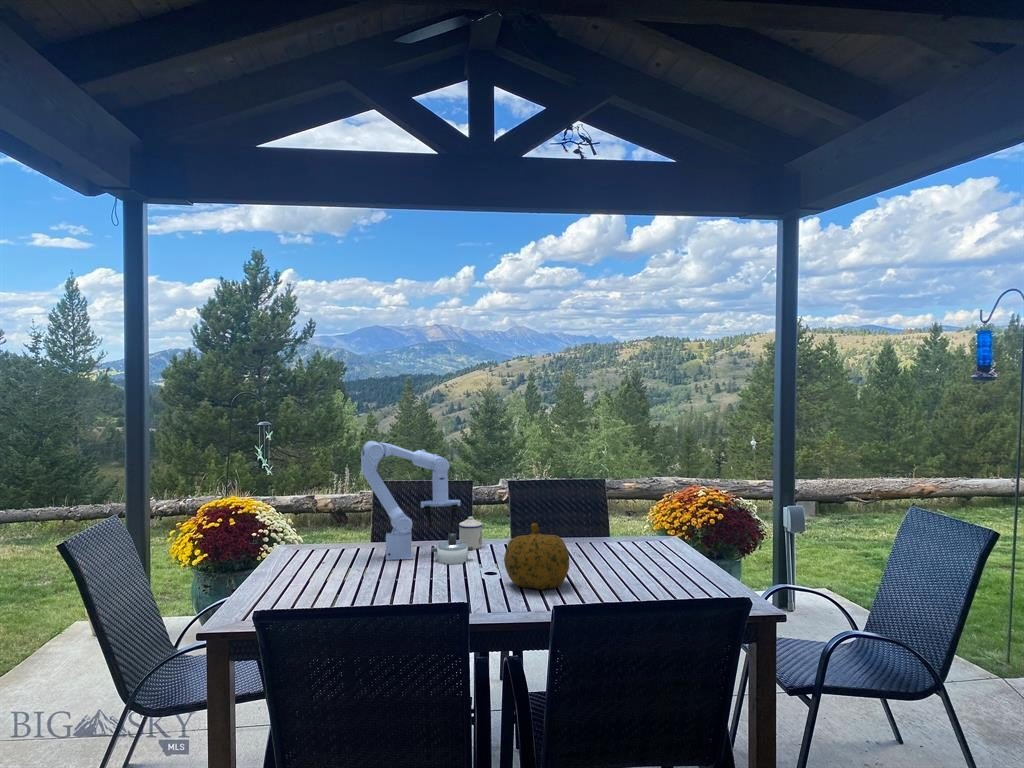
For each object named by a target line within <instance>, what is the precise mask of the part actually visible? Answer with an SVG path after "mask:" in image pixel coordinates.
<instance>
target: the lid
mask: <svg viewBox="0 0 1024 768" xmlns="http://www.w3.org/2000/svg"><path fill="white" fill-rule="evenodd" d="M447 536H448V539H447V540H446V541H441V542H439V543H438V544H437V546H438V548H440V549H444V550H459V549H464V548H466V543H465V542H462V541H459V540H457V533H455V532H454V533H452V532H451V533H448V534H447Z"/></svg>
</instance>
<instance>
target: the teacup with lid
mask: <svg viewBox="0 0 1024 768" xmlns="http://www.w3.org/2000/svg"><path fill="white" fill-rule="evenodd" d="M458 529H459V531H458V532H459V534H458V535H459V536H458V537H459V539H458V541H462V542H465V543H466V545H467V546H468V547H471V546H472V547H473V550H478V548H479V549H480V548H482V546H483V542H482V541H483V540H482V539H483V531H482V529H483V523H482V522H481V521H478V520H476V519H474V516H468V517H467V519H464V521H461V522H460V523H459V524H458Z"/></svg>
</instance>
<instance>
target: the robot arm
mask: <svg viewBox="0 0 1024 768" xmlns="http://www.w3.org/2000/svg"><path fill="white" fill-rule="evenodd" d="M389 456H395V457H398V458H402V459H407V460H409V461H411V462H412V464H413V465H414V466H417V467H420V468H422V469H423V468H424V469H427V470H432V478H431V480H432V483H431V484H432V500H425V501H424V500H423V501H420V508H421V509H422V508H423V511H424V512H425V514H426V517H427V519H428V522H429V523H428V524H429V527H430V528H432V509H431V508H432V507H433V508H434V507H450V510H449V511H450V518H449V519H450V520H449V521H450V522H449V523H450V527H453V524H454V519H455V516H456V514H457V511H458V507H461V499H449V477H448V475H449V474H448V471H449V470H450V467H451V465H450V462H449V460H448V459H446V458H445V457H442V456H440V455H438V453H430V452H427V451H426V449H421V450H420V449H417V450H415V451H412V450H409V449H405V448H403V447H400V446H397V445H394V444H392V443H386V442H380V441H378V442H377V441H374V440H369V441H366V442H365V443H364V444H363V447H362V449H361V451H360V459H361V461H360V462H361V463H360V471H361V474H362V475H363V476H364V478H365V480H366V482H367V483H368V485H369V486H370V488H371V490H372V491H373V493H374V494H375V496H376V497H377V499H378V500H379V502H380V503H381V505H382V507H383V509H384V510H385V511H386V514H387V515H388V517H389V520H390V525H391V527H392V530H391V532H389V533H388V532H387V533H385V549H384V553H385V560H386V561H392V560H393V561H394V560H395V561H396V560H398V561H400V559H401V560H413V559H414V558H413V556H414V555H413V554H414V553H413V552H412V529H413V520H412V519H411V518H410V517H409V516H407V515H406V514H405V513H404V511H403V510H402V509H401V507H400V506H399V504H398V502H397V501H396V499H394V497H393V495H392V493H391V492H390V490H389V489H388V487H387V485H386V484H385V483H384V480H383V479H382V478H381V476H380V475H379V473H378V472H377V468H378V466H379V462H380V461H381V460H382V459H383V457H385V458H387V457H389Z"/></svg>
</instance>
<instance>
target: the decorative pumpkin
mask: <svg viewBox="0 0 1024 768" xmlns="http://www.w3.org/2000/svg"><path fill="white" fill-rule="evenodd" d="M530 529H531V533H529V534H528V535H527V534H526V535H517V536H515V537H513V538H511V539H510V540H509V541H508V543H507V546H506V549H505V553H504V557H503V562H504V567H505V570H506V573H507V575H508V578H509V579H510V580H511V581H512V583H513V584H515V585H516V586H518V587H519V588H522V587H523V588H522V589H536V590H541V591H542V590H545V589H551V590H553V589H557V588H558V587H560V586H561V585H562V583H564V581H565V579H566V577H567V575H568V573H569V569H570V553H569V550H568V548H567V545H566V543H565V541H564V539H562V538H561V537H560V536H558V535H555V534H542V533H540V531H539V530H540V529H539V524H538V523H537V522H534V523H531V525H530Z"/></svg>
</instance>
